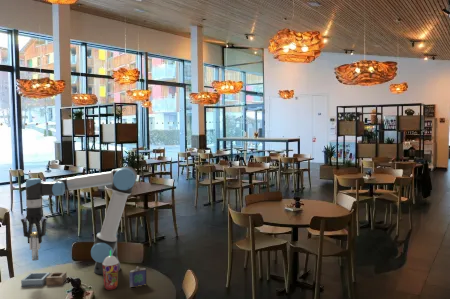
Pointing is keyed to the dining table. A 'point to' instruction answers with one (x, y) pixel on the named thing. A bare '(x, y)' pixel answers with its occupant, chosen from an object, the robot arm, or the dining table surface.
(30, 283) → the tray
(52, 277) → the block
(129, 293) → the dining table surface
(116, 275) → the smoothie
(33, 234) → the pin
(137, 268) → the flask
